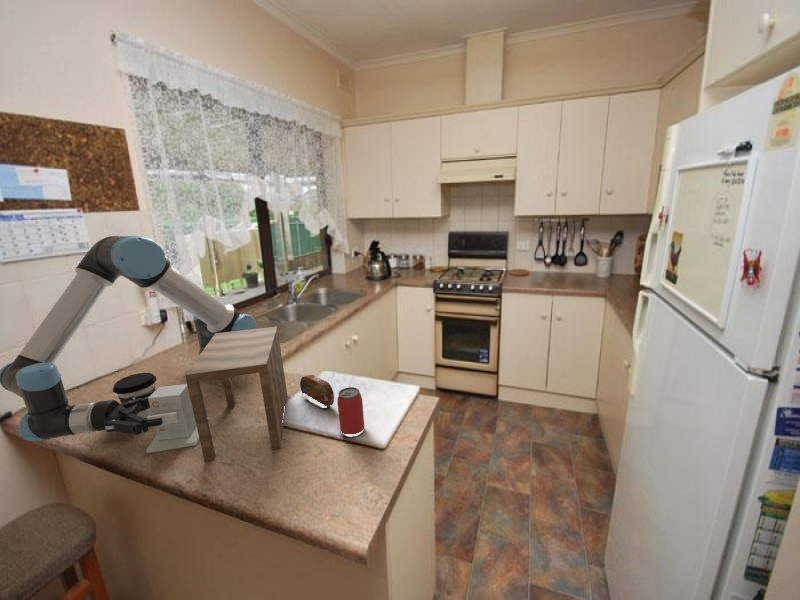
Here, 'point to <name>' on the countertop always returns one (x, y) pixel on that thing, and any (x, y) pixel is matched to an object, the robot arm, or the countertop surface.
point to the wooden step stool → (240, 358)
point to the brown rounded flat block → (317, 389)
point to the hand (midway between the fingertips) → (185, 403)
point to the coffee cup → (135, 388)
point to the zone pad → (173, 442)
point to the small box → (169, 402)
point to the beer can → (350, 411)
